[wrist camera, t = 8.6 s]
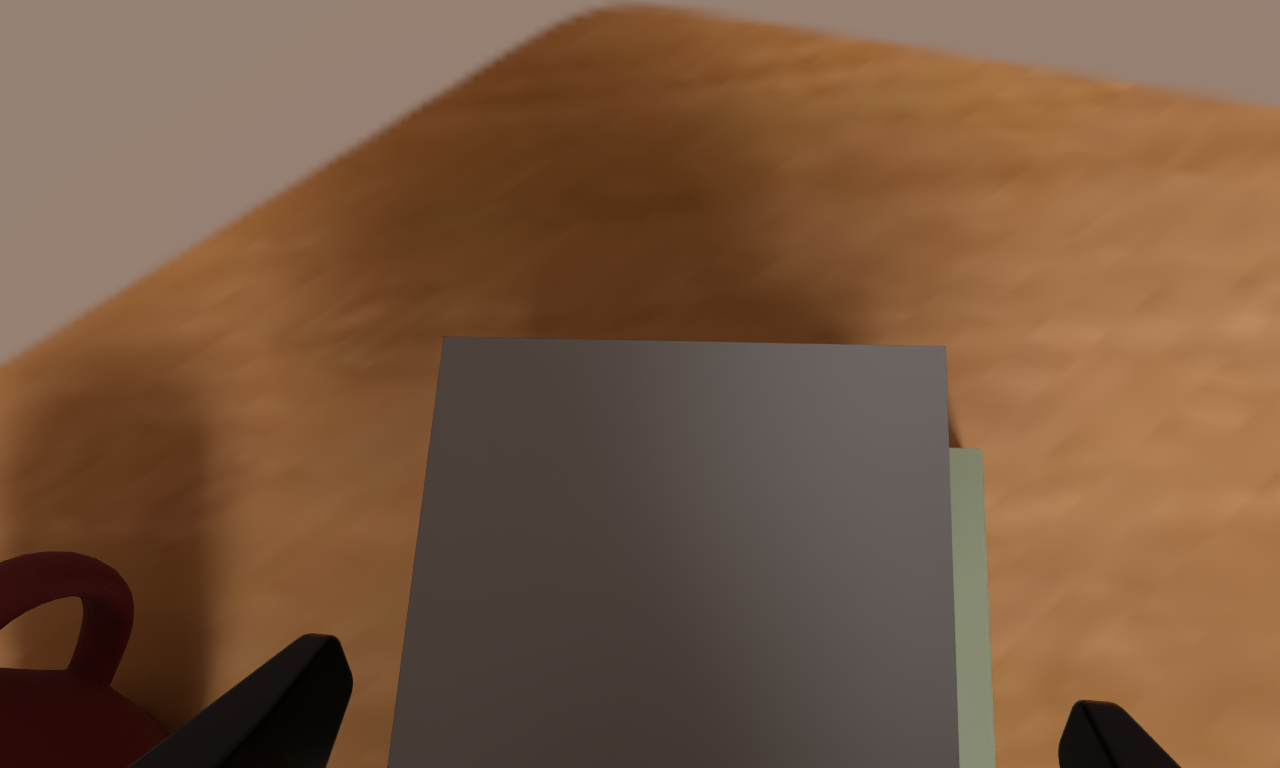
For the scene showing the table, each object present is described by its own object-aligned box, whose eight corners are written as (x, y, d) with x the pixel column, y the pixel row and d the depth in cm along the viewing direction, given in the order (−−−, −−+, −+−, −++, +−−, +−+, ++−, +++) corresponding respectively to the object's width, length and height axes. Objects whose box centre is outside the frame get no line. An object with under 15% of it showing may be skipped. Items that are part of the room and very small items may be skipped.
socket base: (981, 895, 18) (1044, 981, 14) (462, 830, 20) (393, 891, 16) (965, 457, 21) (1016, 430, 17) (504, 438, 22) (454, 410, 19)
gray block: (827, 735, 18) (968, 1020, 6) (600, 713, 19) (365, 932, 7) (829, 482, 19) (945, 345, 8) (618, 472, 20) (444, 337, 9)
